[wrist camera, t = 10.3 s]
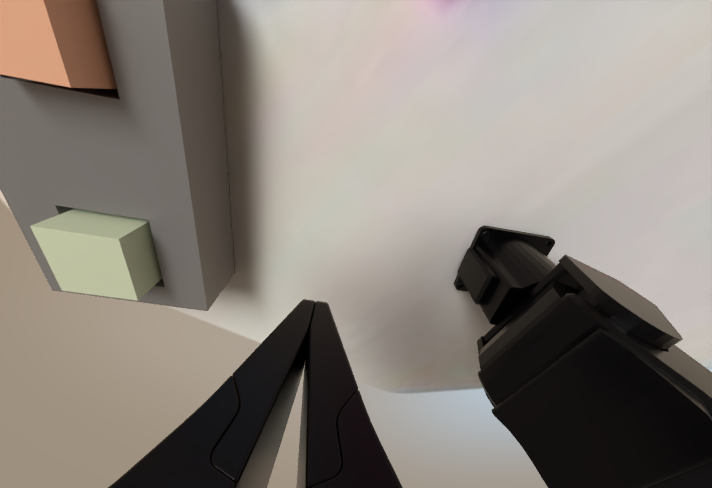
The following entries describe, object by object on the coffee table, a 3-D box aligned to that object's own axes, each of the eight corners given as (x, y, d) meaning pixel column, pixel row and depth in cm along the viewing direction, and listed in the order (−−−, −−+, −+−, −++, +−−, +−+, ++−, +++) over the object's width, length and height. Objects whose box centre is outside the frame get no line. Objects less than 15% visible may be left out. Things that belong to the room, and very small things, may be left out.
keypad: (213, -43, 14) (147, -106, 10) (234, 272, 24) (207, 311, 20) (-11, -96, 13) (-195, -190, 9) (109, 254, 23) (52, 290, 19)
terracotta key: (141, -11, 14) (21, -71, 9) (158, 90, 16) (70, 87, 11) (46, -32, 13) (-134, -106, 8) (77, 74, 15) (-50, 65, 11)
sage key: (178, 204, 19) (118, 239, 15) (186, 255, 22) (137, 300, 17) (112, 193, 19) (30, 225, 14) (128, 246, 21) (61, 290, 16)
